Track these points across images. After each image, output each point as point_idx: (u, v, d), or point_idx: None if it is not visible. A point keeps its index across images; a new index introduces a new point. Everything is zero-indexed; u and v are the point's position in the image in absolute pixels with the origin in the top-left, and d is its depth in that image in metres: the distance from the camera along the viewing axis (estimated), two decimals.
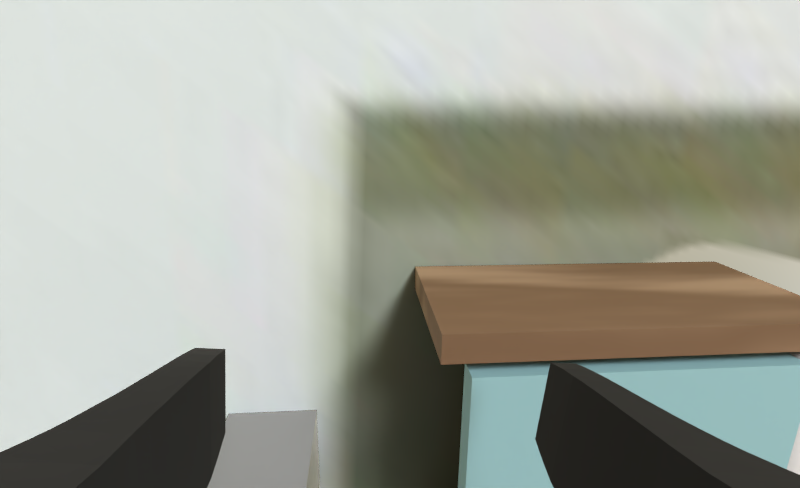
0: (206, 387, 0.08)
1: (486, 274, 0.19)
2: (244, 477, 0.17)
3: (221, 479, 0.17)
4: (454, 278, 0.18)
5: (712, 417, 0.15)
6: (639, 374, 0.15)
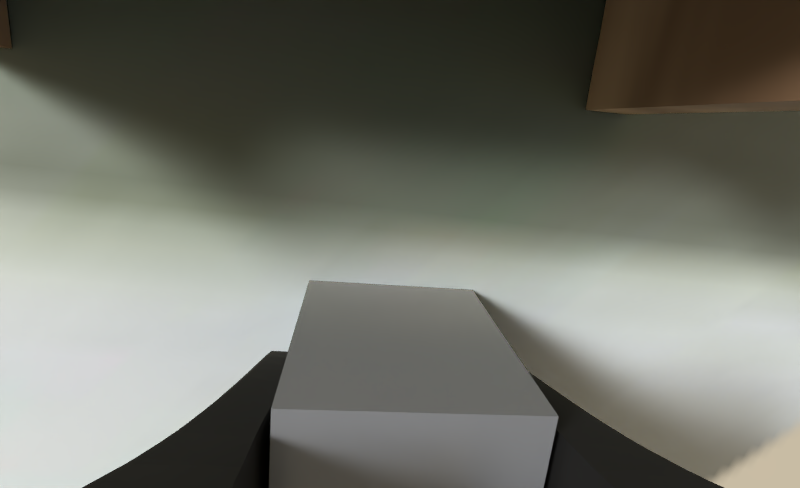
0: None
1: None
2: None
3: None
4: None
5: None
6: None
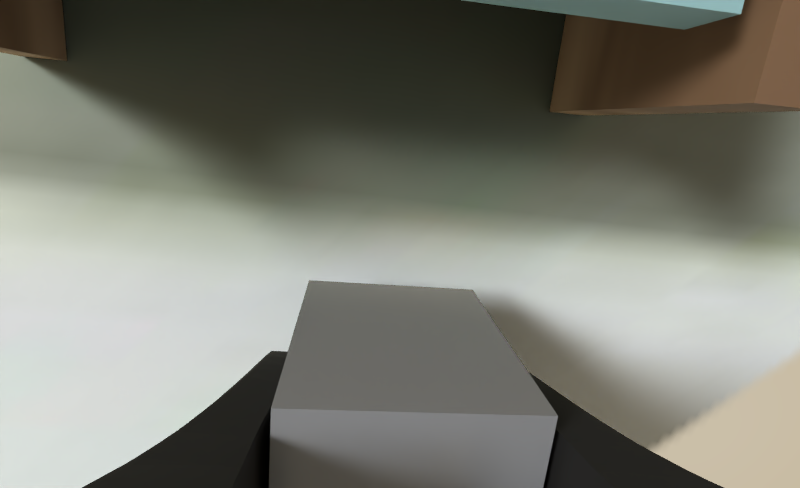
0: None
1: None
2: None
3: None
4: None
5: None
6: None
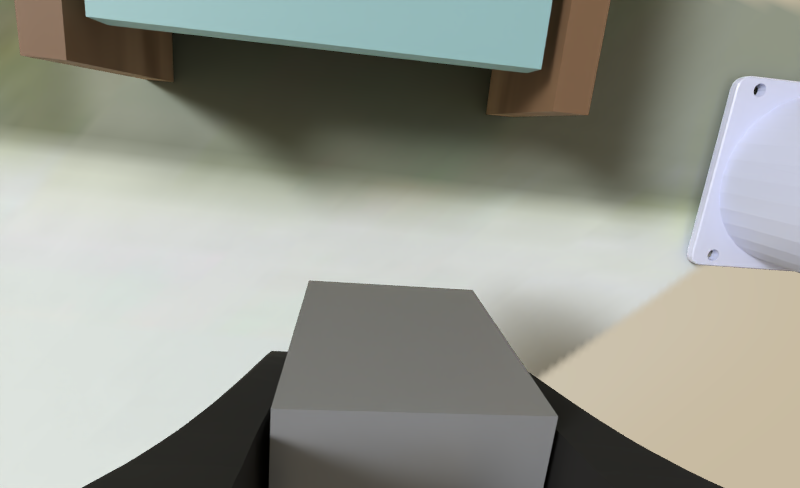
0: None
1: None
2: None
3: None
4: None
5: None
6: None
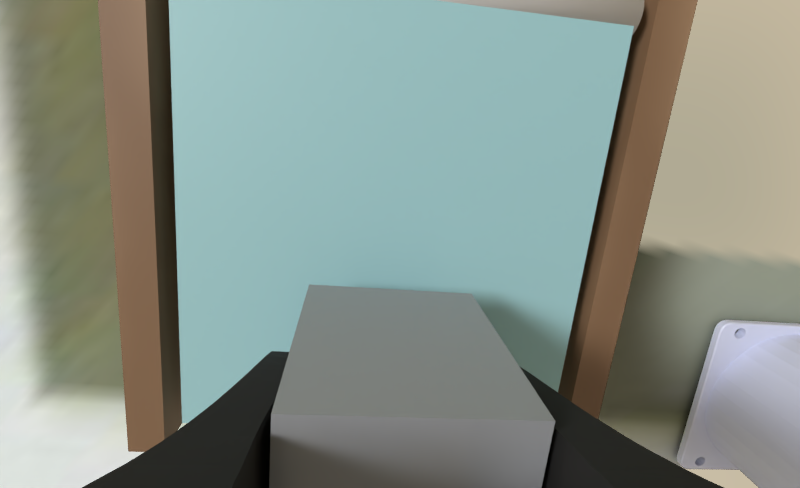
0: None
1: None
2: None
3: None
4: None
5: (252, 128, 0.11)
6: (182, 235, 0.12)
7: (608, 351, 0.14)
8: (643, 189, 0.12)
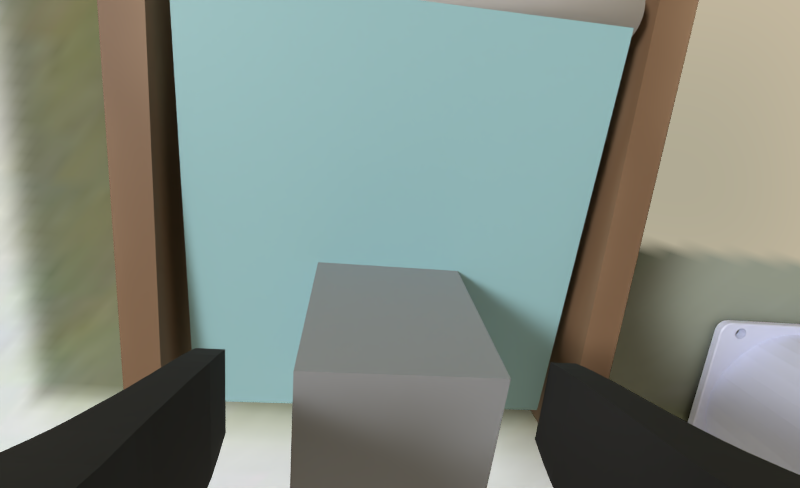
0: (206, 387, 0.08)
1: None
2: None
3: None
4: None
5: (255, 129, 0.11)
6: (190, 231, 0.12)
7: (609, 352, 0.14)
8: (645, 189, 0.12)
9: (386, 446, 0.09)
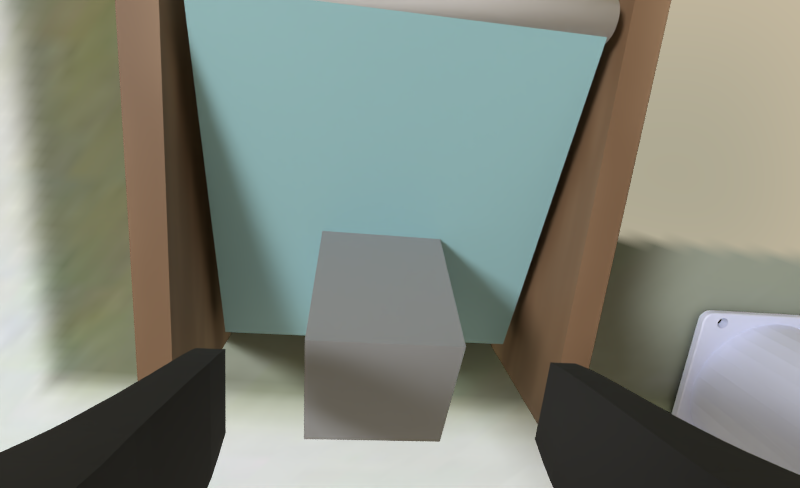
0: (206, 387, 0.08)
1: None
2: None
3: None
4: None
5: (266, 124, 0.13)
6: (214, 205, 0.14)
7: (590, 335, 0.15)
8: (622, 182, 0.13)
9: (373, 387, 0.12)
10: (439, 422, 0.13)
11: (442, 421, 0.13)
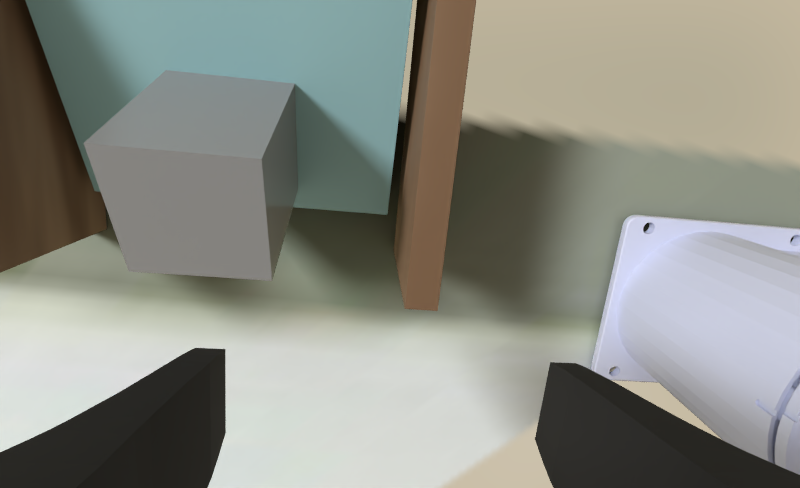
0: (206, 387, 0.08)
1: None
2: None
3: None
4: None
5: None
6: (43, 35, 0.14)
7: (446, 185, 0.13)
8: None
9: (179, 208, 0.12)
10: (264, 256, 0.13)
11: (267, 255, 0.13)
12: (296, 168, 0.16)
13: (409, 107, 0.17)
